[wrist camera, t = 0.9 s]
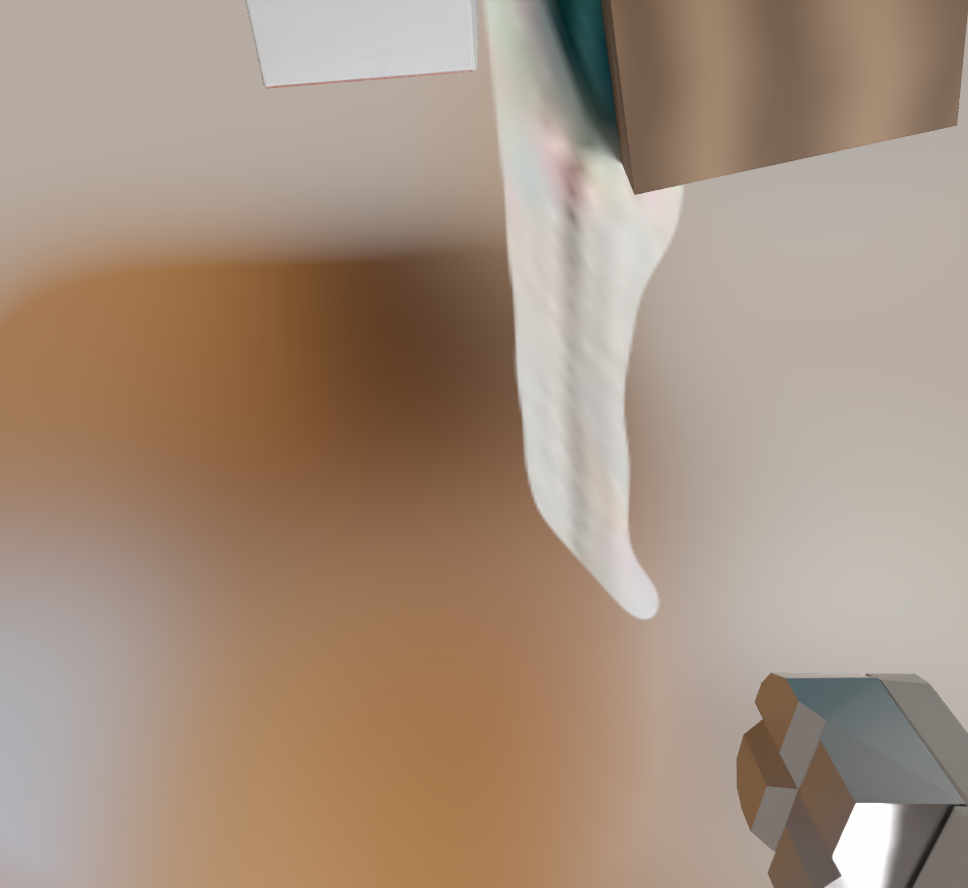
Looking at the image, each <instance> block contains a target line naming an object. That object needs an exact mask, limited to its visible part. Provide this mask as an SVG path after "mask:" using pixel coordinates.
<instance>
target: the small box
mask: <svg viewBox="0 0 968 888" xmlns="http://www.w3.org/2000/svg"><path fill="white" fill-rule="evenodd" d="M246 4H247V9H248V13H249V18H250V23H251V27H252V32H253V37H254V42H255V46H256V51H257V55H258V60H259V64H260V69H261V74H262V79H263V84H264V86H265V88H277V87H288V86H289V87H290V86H301V85H314V84H325V83H336V82H337V83H338V82H350V81H362V80H373V79H387V78H399V77H411V76H422V75H436V74H447V73H458V72H474V71H475V70H476V68H477V53H478V39H479V38H478V37H479V35H478V29H479V28H478V27H479V26H478V0H246Z"/></svg>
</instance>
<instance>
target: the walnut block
mask: <svg viewBox="0 0 968 888" xmlns="http://www.w3.org/2000/svg"><path fill="white" fill-rule="evenodd" d="M601 7H602V14H603V22H604V30H605V37H606V45H607V53H608V60H609V68H610V76H611V83H612V91H613V99H614V106H615V114H616V122H617V129H618V137H619V145H620V153H621V160H622V165H623V167H624V170H625V172H626V175H627V177H628V179H629V182H630V184H631V187H632V189H633V192H634V194H635V195H636V194H641V193H645V192H650V191H655V190H659V189H664V188H669V187H673V186H678V185H683V184H687V183H691V182H696V181H701V180H706V179H710V178H715V177H720V176H724V175H729V174H734V173H738V172H743V171H748V170H752V169H756V168H761V167H766V166H771V165H775V164H780V163H785V162H789V161H794V160H798V159H803V158H808V157H813V156H817V155H822V154H827V153H831V152H836V151H840V150H845V149H850V148H854V147H859V146H864V145H868V144H873V143H877V142H882V141H887V140H892V139H896V138H900V137H905V136H910V135H915V134H919V133H924V132H929V131H933V130H938V129H942V128H947V127H952V126H956V125H957V118H958V109H959V98H960V87H961V76H962V67H963V56H964V45H965V34H966V24H967V14H968V0H601Z"/></svg>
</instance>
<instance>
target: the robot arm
mask: <svg viewBox="0 0 968 888" xmlns="http://www.w3.org/2000/svg"><path fill="white" fill-rule="evenodd" d="M755 704H756V706H757V708H758V710H759V712H760V714H761V716H762V718H763V719H762V720H761V721H760V722H759V723H758V724H756V725H755V726H754V727H752V728H751V729H750V730H749V731H748V732H746V733H745V734H744V735H743V739H742V742H741V746H740V749H739V753H738V757H737V790H738V794H739V798H740V803H741V808H742V811H743V813H744V816H745V818H746V821H747V823H748V826H749V828H750V831H751V832H752V833H753V834H754V835H755V836H757V837H758V838H759V839H760V840H761V841H762V842H764V843H765V844H766V845H767V846H768V847H769V848H771V849H772V850H773V851H774V855H773V858H772V861H771V864H770V867H769V870H768V874H769V877H770V879H771V882H772V884H773V886H774V888H968V733H967V732H966V730H965V729H964V728H963V726H962V725H961V724H960V723H959V721H958V720H957V719H956V717H955V716H954V715H953V713H952V712H951V711H950V710H949V708H948V707H947V706H946V704H945V703H944V702H943V701H942V699H941V698H940V697H939V695H938V694H937V693H936V691H935V690H934V689H933V688H932V686H931V685H930V684H929V683H928V682H927V681H925V680H924V679H922V678H921V677H919V676H917V675H916V674H866V675H861V674H822V673H821V674H820V673H818V674H817V673H770V674H769V676H768V677H767V678H766V679H765V680H764V681H763V682H762V683H761V686H760V689H759V691H758V694H757V697H756V700H755Z"/></svg>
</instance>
